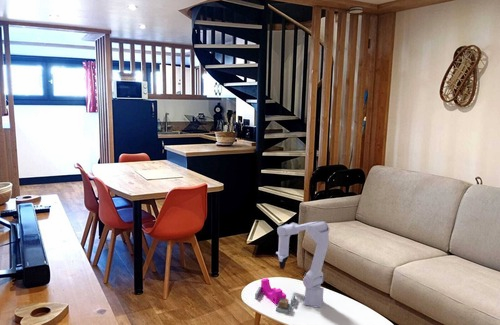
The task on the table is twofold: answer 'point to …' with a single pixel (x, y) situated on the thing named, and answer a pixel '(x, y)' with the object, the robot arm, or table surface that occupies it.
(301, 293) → the table surface
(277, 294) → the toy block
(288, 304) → the jig
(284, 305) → the walnut cube
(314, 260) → the robot arm
